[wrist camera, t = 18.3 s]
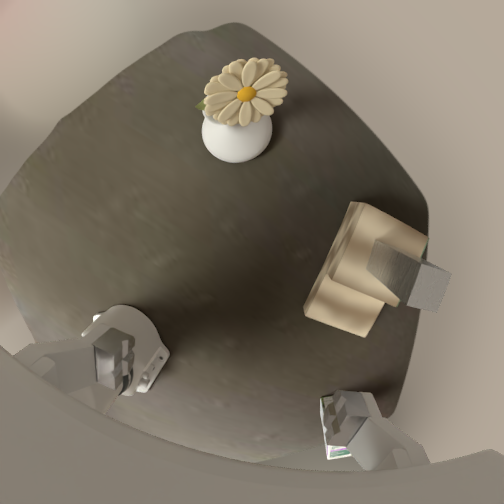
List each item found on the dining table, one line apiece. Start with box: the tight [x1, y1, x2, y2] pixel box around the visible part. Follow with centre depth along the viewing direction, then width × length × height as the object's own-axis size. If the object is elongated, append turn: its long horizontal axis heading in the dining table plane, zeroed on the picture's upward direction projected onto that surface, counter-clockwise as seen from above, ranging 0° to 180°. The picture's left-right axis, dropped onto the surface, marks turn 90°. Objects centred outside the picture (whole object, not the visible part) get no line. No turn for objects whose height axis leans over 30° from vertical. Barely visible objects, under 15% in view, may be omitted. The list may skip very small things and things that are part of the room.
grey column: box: [366, 240, 451, 313], centre depth 30 cm, size 4×4×14 cm
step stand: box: [303, 201, 429, 337], centre depth 42 cm, size 20×12×8 cm, turn 158°
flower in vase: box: [195, 58, 288, 163], centre depth 30 cm, size 13×11×25 cm
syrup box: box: [320, 396, 352, 460], centre depth 45 cm, size 6×6×14 cm
